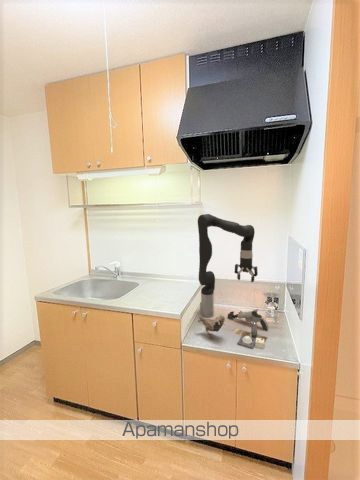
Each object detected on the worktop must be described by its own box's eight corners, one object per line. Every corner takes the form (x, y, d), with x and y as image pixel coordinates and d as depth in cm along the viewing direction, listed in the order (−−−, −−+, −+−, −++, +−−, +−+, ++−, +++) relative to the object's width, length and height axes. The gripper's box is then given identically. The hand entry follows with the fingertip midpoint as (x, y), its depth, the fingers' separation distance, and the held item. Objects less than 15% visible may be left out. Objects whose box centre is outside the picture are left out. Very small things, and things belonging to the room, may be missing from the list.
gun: (267, 332, 153) (259, 310, 155) (232, 334, 171) (225, 314, 172) (270, 329, 157) (262, 307, 159) (235, 331, 175) (228, 311, 176)
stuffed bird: (225, 346, 142) (225, 319, 139) (193, 339, 150) (193, 313, 147) (229, 337, 151) (229, 312, 148) (199, 330, 159) (199, 306, 156)
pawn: (250, 336, 149) (250, 323, 148) (252, 333, 152) (252, 320, 151) (255, 338, 147) (256, 324, 146) (257, 335, 150) (258, 322, 149)
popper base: (237, 346, 142) (237, 342, 142) (242, 338, 149) (242, 335, 149) (252, 350, 137) (252, 347, 137) (256, 342, 145) (256, 339, 144)
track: (233, 334, 154) (233, 332, 154) (236, 329, 159) (236, 328, 159) (265, 343, 144) (265, 342, 143) (267, 338, 148) (267, 337, 148)
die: (255, 348, 139) (255, 341, 138) (256, 344, 143) (256, 337, 142) (263, 350, 137) (263, 343, 137) (264, 346, 141) (264, 338, 141)
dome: (241, 344, 143) (241, 337, 142) (244, 340, 147) (244, 332, 146) (250, 347, 140) (250, 339, 139) (253, 343, 144) (253, 335, 143)
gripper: (233, 256, 153) (233, 280, 156) (255, 259, 146) (255, 284, 149) (237, 254, 160) (236, 277, 162) (259, 256, 152) (258, 281, 155)
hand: (245, 280), depth 155 cm, fingers open, 8 cm apart
